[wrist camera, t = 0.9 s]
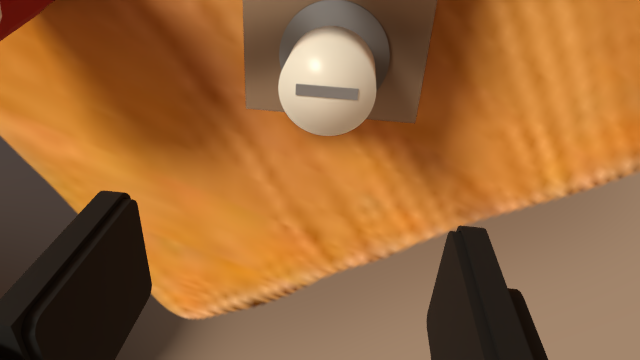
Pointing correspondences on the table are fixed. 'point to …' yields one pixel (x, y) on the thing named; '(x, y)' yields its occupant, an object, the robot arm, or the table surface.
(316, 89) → the knob
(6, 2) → the plastic cup
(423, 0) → the knob bar
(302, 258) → the table surface
